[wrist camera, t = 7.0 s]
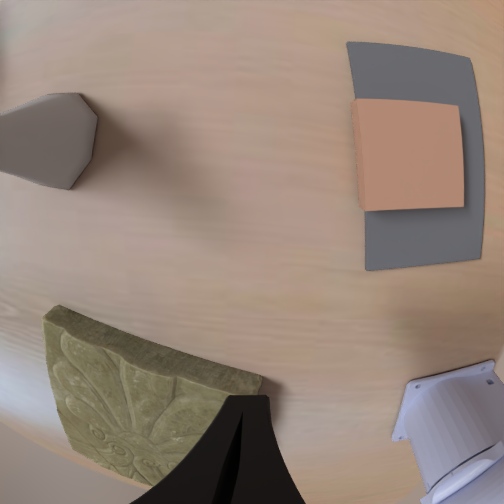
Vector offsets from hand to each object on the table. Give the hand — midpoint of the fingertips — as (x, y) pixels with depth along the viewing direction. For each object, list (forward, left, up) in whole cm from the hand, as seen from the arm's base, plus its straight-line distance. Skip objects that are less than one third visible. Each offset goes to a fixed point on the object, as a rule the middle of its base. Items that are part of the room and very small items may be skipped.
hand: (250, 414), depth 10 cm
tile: (-6, -8, -9) cm, 13 cm away
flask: (+13, -12, -11) cm, 21 cm away
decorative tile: (+12, +13, -11) cm, 21 cm away
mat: (-11, -8, -10) cm, 17 cm away
